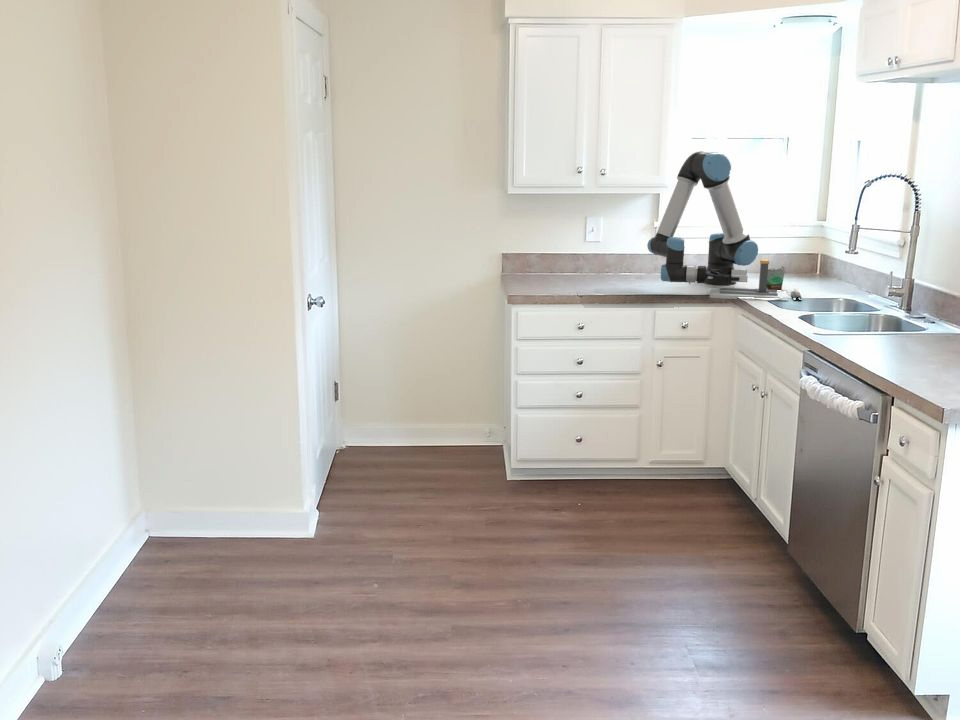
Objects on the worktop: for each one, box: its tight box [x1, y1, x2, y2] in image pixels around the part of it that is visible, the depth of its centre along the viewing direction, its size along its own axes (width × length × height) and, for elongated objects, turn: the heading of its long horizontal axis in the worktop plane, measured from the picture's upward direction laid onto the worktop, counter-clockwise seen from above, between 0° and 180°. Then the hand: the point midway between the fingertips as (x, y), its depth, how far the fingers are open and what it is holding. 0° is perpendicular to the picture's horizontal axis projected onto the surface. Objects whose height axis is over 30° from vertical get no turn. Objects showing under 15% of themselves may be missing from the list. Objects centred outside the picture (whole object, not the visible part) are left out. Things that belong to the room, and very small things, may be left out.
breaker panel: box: [709, 287, 789, 300], centre depth 382 cm, size 14×32×2 cm, turn 75°
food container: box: [766, 266, 787, 291], centre depth 392 cm, size 12×6×10 cm, turn 112°
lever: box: [755, 258, 770, 293], centre depth 379 cm, size 5×5×14 cm
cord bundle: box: [790, 288, 802, 299], centre depth 378 cm, size 13×4×3 cm, turn 165°
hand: (747, 276), depth 380 cm, fingers open, 13 cm apart
